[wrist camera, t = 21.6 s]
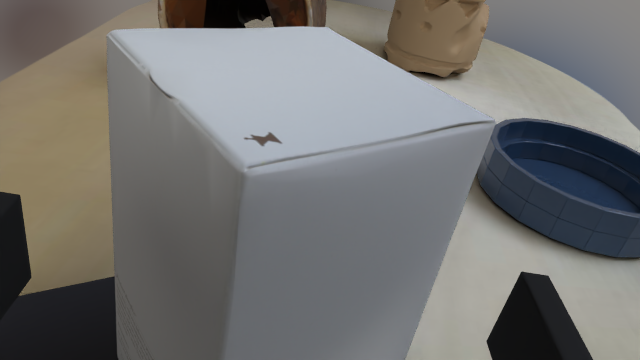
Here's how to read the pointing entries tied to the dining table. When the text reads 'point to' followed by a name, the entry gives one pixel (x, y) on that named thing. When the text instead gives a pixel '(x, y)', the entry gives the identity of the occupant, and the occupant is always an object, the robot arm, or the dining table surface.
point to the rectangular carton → (278, 194)
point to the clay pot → (240, 13)
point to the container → (436, 35)
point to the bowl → (566, 184)
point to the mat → (62, 324)
